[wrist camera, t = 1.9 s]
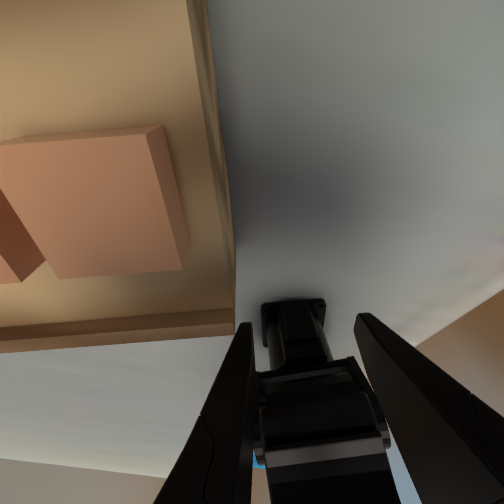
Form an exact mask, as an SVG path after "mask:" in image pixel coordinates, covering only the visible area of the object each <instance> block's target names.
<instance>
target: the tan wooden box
mask: <svg viewBox="0 0 504 504" xmlns="http://www.w3.org/2000/svg"><path fill="white" fill-rule="evenodd" d="M154 125H163V129H164V133H165V137H166V141H167V146H168V150H169V154H170V158H171V162H172V167H173V171H174V175H175V179H176V184H177V188H178V192H179V196H180V200H181V205H182V209H183V213H184V217H185V221H186V226H187V230H188V234H189V238H190V242H191V244H190V248H189V251H188V254H187V258H186V261H185V264H184V268H183V270H172V271H160V272H147V273H135V274H122V275H110V276H97V277H85V278H72V279H60V280H59V279H58V278H57V276H56V274H55V273H54V271H53V270H52V268H51V267H50V265H49V264H48V262H47V260H46V261H45V262H44V263H43V264H41V265H40V266H39V267H38V268H37V269H36V270H35V271H34V272H33V273H32V274H30V275H29V276H28V277H27V278H26V279H25V280H24V281H23V282H22V283H10V284H0V353H12V352H24V351H37V350H50V349H62V348H75V347H87V346H100V345H112V344H125V343H137V342H150V341H162V340H175V339H187V338H200V337H213V336H225V335H235V289H236V242H235V234H234V226H233V217H232V209H231V201H230V192H229V184H228V176H227V168H226V159H225V151H224V143H223V135H222V126H221V118H220V110H219V102H218V93H217V85H216V77H215V69H214V60H213V52H212V44H211V35H210V27H209V19H208V11H207V2H206V0H0V141H4V140H8V139H13V138H17V137H21V136H30V135H42V134H55V133H67V132H80V131H92V130H105V129H117V128H130V127H142V126H154Z"/></svg>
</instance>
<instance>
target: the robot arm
mask: <svg viewBox="0 0 504 504" xmlns="http://www.w3.org/2000/svg"><path fill="white" fill-rule="evenodd" d="M320 304H321V305H320ZM266 308H267V309H266ZM325 311H326V303H325V301H324V300H322V299H319V300H306V301H294V302H281V303H269V304H263V305H262V306H261V319H262V334H263V346H264V347H266V348H268V350H269V359H270V368H271V371H264V372H259V371H257V372H256V369H255V355H254V340H253V329H252V323H251V322H243V323H240V325H239V327H238V329H237V332H236V334H235V336H234V338H233V341H232V343H231V345H230V347H229V350H228V352H227V354H226V356H225V359H224V361H223V363H222V365H221V367H220V370H219V372H218V374H217V376H216V379H215V381H214V383H213V385H212V388H211V390H210V392H209V394H208V397H207V399H206V401H205V403H204V406H203V408H202V410H201V412H200V415H201V416H199V417H198V419H197V421H196V423H195V425H194V428H193V430H192V432H191V434H190V436H189V438H188V440H187V442H186V444H185V447H184V449H183V450H182V452H181V454H180V456H179V458H178V460H177V462H176V463H175V465H174V467H173V469H172V471H171V472H170V474H169V476H168V478H167V480H166V481H165V483H164V485H163V487H162V488H161V490H160V492H159V494H158V495H157V497H156V499H155V501H154V503H153V504H251V486H252V466H253V450H254V452H255V456H256V460H257V463H258V465H265V467H266V474H267V480H268V487H269V492H270V500H271V504H401V502H400V499H399V496H398V493H397V490H396V486H395V483H394V479H393V475H392V472H391V468H390V465H389V461H388V457H387V453H386V450H385V449H389V448H390V447H391V440H390V435H389V430H388V426H387V423H388V425H389V428H390V430H391V432H392V435H393V437H394V439H395V442H396V444H397V446H398V449H399V451H400V453H401V456H402V458H403V460H404V463H405V465H406V467H407V470H408V472H409V474H410V477H411V479H412V481H413V484H414V486H415V488H416V491H417V493H418V495H419V497H420V500H421V502H422V504H504V417H502V416H501V415H500V414H499V413H497V412H496V411H495V410H493V409H492V408H491V407H489V406H488V405H487V404H485V403H484V402H483V401H482V400H480V399H479V398H478V397H477V396H475V395H474V394H471V392H470V391H469V390H468V389H466V388H465V387H464V386H463V385H461V384H460V383H459V382H457V381H456V380H455V379H454V378H452V377H451V376H450V375H448V374H447V373H446V372H445V371H443V370H442V369H441V368H440V367H438V366H437V365H436V364H434V363H433V362H432V361H431V360H429V359H428V358H427V357H426V356H424V355H423V354H422V353H421V352H419V351H418V350H417V349H415V348H414V347H413V346H412V345H410V344H409V343H408V342H407V341H405V340H404V339H403V338H401V337H400V336H399V335H398V334H396V333H395V332H394V331H393V330H391V329H390V328H389V327H387V326H386V325H385V324H384V323H382V322H381V321H380V320H379V319H377V318H376V317H375V316H373V315H372V314H371V313H358V314H357V317H356V321H355V325H354V334H355V338H356V341H357V344H358V348H359V351H360V354H361V357H362V361H363V364H364V367H365V370H366V373H367V376H368V378H369V381H370V383H371V386H372V388H373V390H374V391H373V390H372V388H371V386H370V385H369V383H368V381H367V379H366V377H365V376H364V374H363V372H362V370H361V368H360V367H359V365H358V363H357V361H356V360H355V358H354V356H350V357H347V358H345V359H339V360H333V357H332V354H331V351H330V349H329V346H328V343H327V340H326V337H325V334H324V331H323V325H324V318H325ZM385 418H386V419H385ZM386 421H387V422H386Z"/></svg>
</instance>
